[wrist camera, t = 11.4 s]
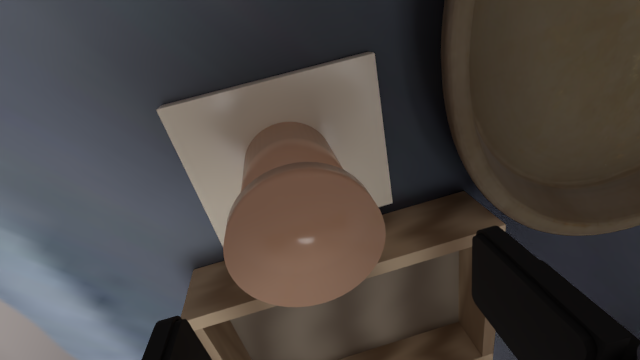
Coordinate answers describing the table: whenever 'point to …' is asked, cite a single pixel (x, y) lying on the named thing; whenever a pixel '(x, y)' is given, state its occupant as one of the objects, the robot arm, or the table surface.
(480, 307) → the robot arm
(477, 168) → the plant saucer
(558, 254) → the table surface
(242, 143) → the sandstone tile
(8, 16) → the table surface
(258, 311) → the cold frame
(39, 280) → the table surface
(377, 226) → the tan rounded knob
